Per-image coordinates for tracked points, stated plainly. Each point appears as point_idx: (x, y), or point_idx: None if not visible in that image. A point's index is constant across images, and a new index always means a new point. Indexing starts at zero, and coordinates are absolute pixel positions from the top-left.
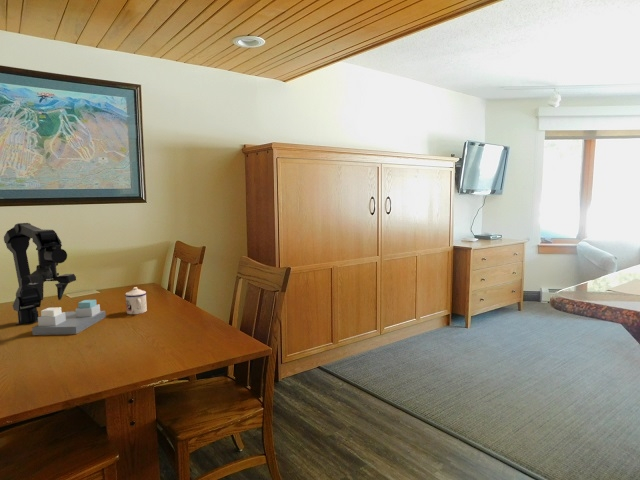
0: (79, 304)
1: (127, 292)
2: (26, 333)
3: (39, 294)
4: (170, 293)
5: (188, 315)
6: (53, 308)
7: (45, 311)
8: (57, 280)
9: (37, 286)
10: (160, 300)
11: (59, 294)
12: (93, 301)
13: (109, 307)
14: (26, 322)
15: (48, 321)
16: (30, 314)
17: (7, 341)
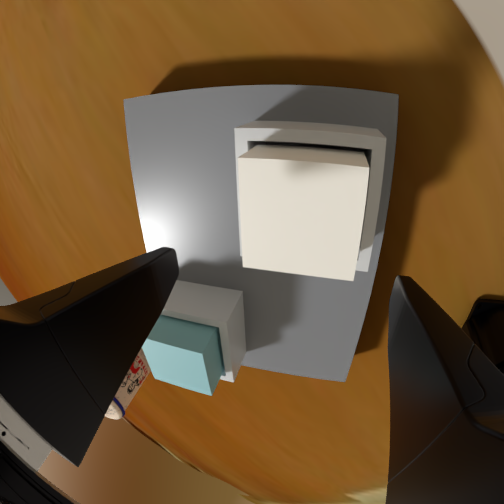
0: (200, 344)
1: (113, 411)
2: (445, 140)
3: (421, 324)
4: (170, 449)
5: (10, 273)
6: (290, 241)
7: (321, 160)
8: (3, 452)
9: (463, 465)
10: (150, 418)
11: (105, 270)
12: (148, 358)
13: (250, 421)
14: (495, 310)
15: (297, 124)
16: (489, 344)
17: (457, 15)
